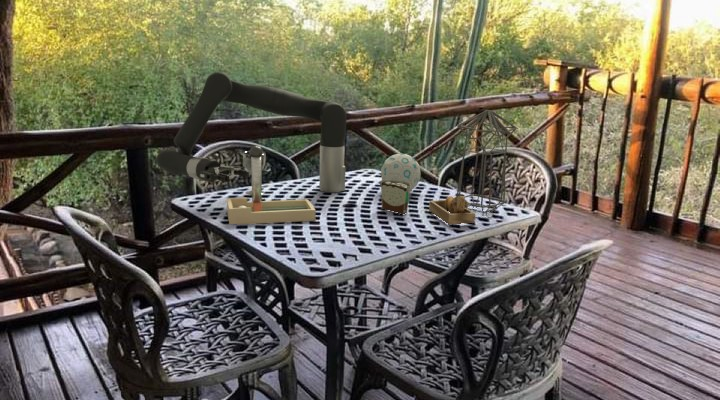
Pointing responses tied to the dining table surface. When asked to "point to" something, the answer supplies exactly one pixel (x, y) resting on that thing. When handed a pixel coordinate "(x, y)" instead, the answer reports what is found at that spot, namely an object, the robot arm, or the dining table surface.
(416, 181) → the puzzle ball
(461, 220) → the figurine crate
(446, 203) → the lion figurine
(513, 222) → the dining table surface
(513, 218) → the dining table surface
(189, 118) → the robot arm
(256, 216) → the tray
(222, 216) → the dining table surface
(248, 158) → the wine glass
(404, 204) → the food container
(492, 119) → the geometric lantern
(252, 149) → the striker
